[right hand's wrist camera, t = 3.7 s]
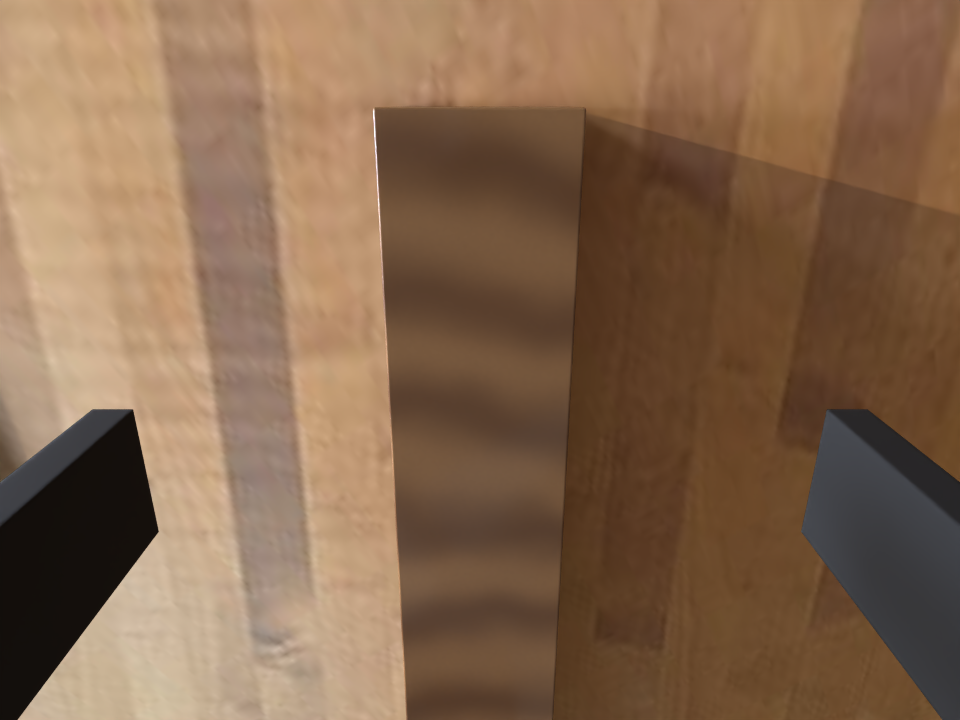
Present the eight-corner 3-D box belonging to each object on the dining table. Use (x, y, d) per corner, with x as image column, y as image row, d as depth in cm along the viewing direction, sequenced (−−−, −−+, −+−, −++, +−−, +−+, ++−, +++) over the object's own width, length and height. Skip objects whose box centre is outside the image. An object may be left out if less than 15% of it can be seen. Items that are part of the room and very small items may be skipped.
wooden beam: (393, 106, 34) (372, 107, 27) (565, 106, 34) (586, 107, 28) (429, 910, 58) (422, 1015, 51) (530, 910, 58) (536, 1015, 51)
